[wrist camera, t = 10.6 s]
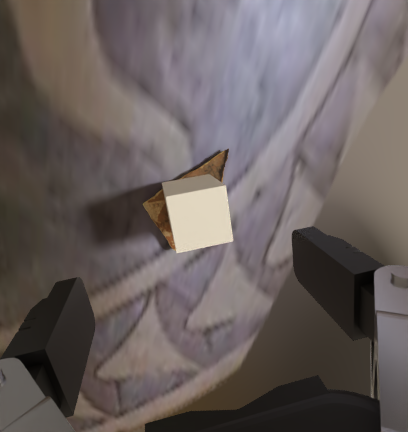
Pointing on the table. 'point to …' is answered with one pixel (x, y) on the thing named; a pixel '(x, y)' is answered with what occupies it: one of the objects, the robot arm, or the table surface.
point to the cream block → (197, 212)
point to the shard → (157, 203)
